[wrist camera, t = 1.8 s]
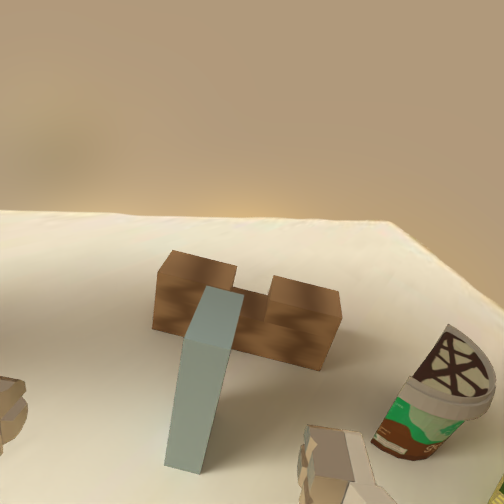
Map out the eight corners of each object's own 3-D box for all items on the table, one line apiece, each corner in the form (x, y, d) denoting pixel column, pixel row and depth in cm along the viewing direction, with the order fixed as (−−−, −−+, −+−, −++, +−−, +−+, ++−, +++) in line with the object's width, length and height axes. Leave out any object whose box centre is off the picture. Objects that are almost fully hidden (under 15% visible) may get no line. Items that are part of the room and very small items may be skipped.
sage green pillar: (164, 465, 30) (183, 338, 23) (185, 403, 35) (206, 285, 28) (199, 474, 30) (230, 350, 23) (215, 411, 35) (244, 295, 28)
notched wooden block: (152, 328, 42) (157, 271, 38) (166, 303, 47) (172, 250, 43) (319, 371, 42) (342, 318, 38) (318, 341, 46) (338, 291, 43)
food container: (426, 505, 31) (487, 434, 26) (363, 451, 34) (407, 379, 30) (463, 422, 40) (513, 357, 35) (410, 385, 43) (449, 321, 38)
